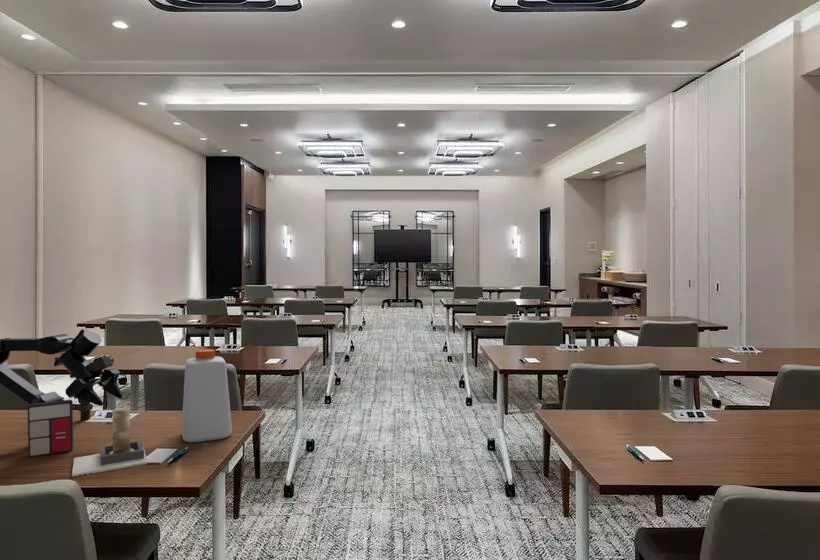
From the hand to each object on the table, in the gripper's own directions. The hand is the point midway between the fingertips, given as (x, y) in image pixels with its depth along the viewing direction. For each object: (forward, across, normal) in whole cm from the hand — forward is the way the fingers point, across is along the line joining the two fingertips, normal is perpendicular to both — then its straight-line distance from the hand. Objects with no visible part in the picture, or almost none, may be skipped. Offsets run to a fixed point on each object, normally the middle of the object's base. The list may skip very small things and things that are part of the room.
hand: (112, 401), depth 169 cm
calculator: (0, -9, +19) cm, 21 cm away
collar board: (+16, -15, +3) cm, 22 cm away
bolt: (-10, +26, +30) cm, 41 cm away
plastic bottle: (+28, +11, -8) cm, 31 cm away
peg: (+17, -12, +2) cm, 21 cm away
